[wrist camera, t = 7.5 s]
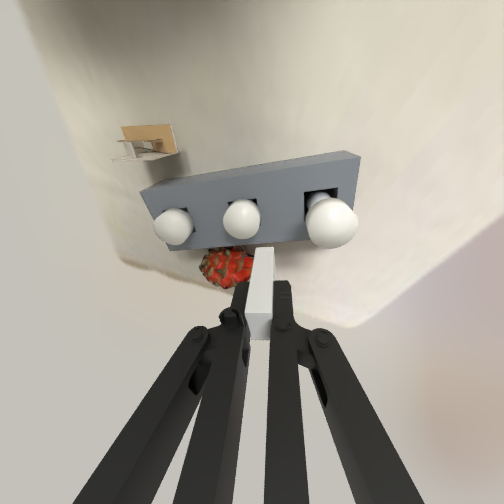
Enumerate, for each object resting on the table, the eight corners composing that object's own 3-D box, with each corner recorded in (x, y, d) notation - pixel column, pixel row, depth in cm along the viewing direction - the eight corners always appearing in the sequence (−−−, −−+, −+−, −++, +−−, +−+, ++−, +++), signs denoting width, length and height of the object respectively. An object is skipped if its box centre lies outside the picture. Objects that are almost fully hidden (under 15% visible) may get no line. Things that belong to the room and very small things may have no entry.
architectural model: (137, 126, 26) (95, 127, 20) (182, 124, 25) (152, 124, 19) (146, 153, 28) (110, 161, 22) (188, 152, 27) (163, 159, 21)
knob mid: (232, 189, 28) (218, 208, 22) (261, 184, 27) (256, 203, 21) (238, 216, 31) (227, 240, 24) (265, 213, 30) (261, 237, 23)
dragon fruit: (204, 245, 38) (260, 244, 39) (204, 285, 38) (260, 284, 39) (191, 243, 30) (263, 242, 30) (192, 294, 30) (264, 292, 30)
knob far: (175, 197, 30) (147, 217, 24) (200, 193, 29) (178, 213, 23) (185, 222, 33) (162, 246, 26) (209, 219, 32) (191, 243, 25)
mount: (162, 181, 30) (139, 191, 25) (344, 150, 24) (360, 156, 19) (184, 233, 35) (169, 251, 30) (337, 218, 30) (348, 236, 25)
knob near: (300, 186, 23) (308, 209, 17) (337, 181, 22) (362, 203, 16) (300, 218, 26) (308, 250, 19) (334, 215, 25) (354, 246, 18)
